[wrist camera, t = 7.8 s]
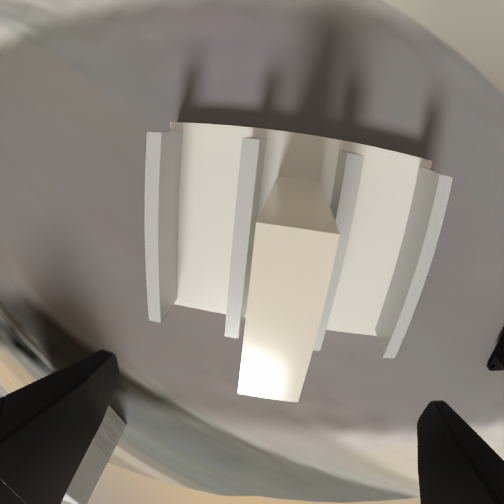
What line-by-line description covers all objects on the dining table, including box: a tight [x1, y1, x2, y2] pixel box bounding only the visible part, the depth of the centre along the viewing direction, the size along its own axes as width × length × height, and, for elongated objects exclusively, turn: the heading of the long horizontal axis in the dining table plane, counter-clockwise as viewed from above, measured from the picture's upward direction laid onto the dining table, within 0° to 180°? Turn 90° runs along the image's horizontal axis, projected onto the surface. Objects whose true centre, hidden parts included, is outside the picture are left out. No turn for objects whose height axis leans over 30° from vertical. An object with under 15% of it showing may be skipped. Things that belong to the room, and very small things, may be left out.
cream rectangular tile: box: [238, 176, 340, 402], centre depth 14 cm, size 2×7×9 cm, turn 175°
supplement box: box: [63, 405, 127, 504], centre depth 25 cm, size 7×7×13 cm
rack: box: [145, 122, 453, 358], centre depth 18 cm, size 15×12×4 cm
